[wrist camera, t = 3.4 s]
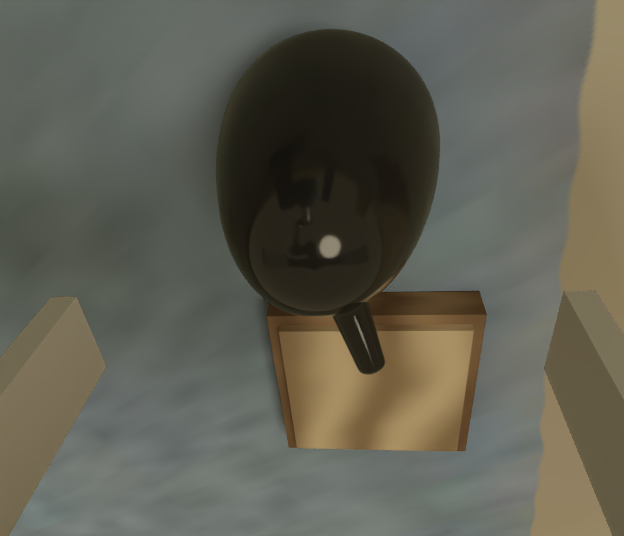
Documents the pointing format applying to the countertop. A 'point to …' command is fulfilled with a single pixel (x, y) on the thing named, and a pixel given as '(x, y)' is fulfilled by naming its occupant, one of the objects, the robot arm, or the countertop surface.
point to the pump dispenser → (328, 177)
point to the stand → (382, 375)
